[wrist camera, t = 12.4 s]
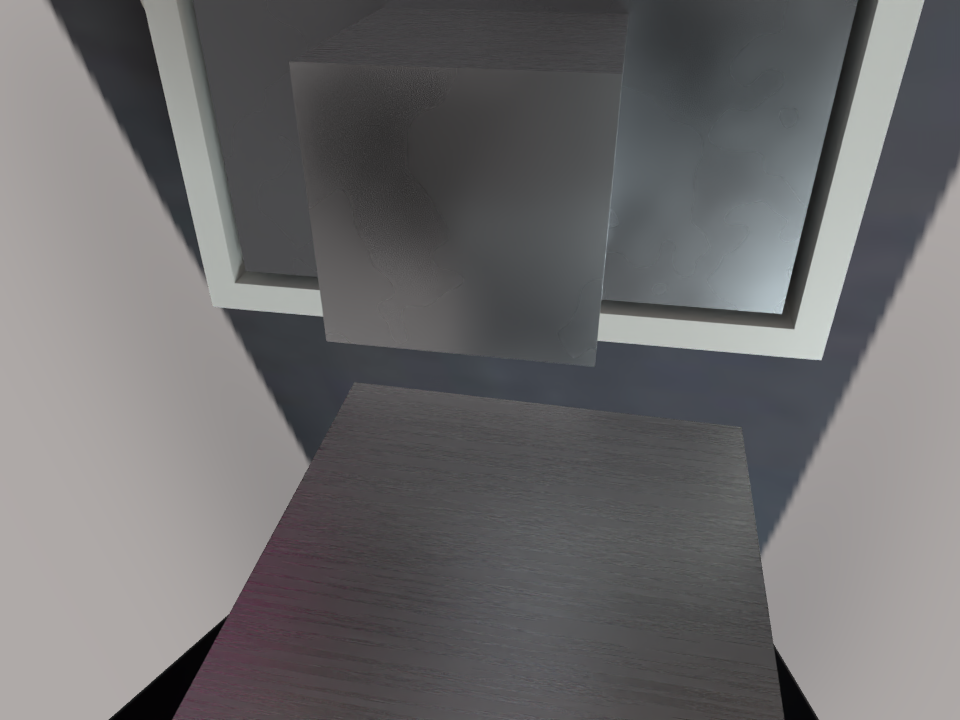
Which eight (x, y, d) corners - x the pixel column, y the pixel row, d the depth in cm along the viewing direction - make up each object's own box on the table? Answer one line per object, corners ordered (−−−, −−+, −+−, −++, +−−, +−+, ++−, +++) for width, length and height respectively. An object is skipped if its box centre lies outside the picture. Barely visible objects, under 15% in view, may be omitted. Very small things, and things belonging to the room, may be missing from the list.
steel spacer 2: (679, 666, 11) (693, 1074, 7) (381, 617, 12) (260, 970, 8) (741, 427, 9) (806, 871, 5) (355, 381, 9) (158, 743, 6)
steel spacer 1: (606, 248, 16) (594, 366, 12) (397, 233, 17) (326, 341, 13) (628, 13, 13) (622, 74, 10) (382, 7, 14) (288, 61, 10)
